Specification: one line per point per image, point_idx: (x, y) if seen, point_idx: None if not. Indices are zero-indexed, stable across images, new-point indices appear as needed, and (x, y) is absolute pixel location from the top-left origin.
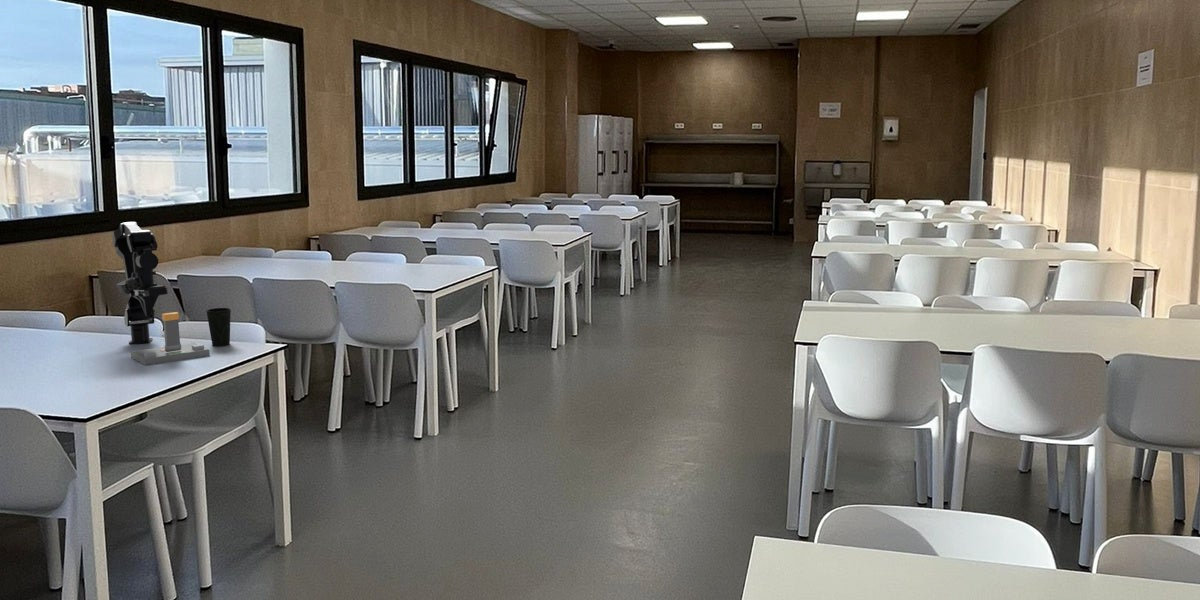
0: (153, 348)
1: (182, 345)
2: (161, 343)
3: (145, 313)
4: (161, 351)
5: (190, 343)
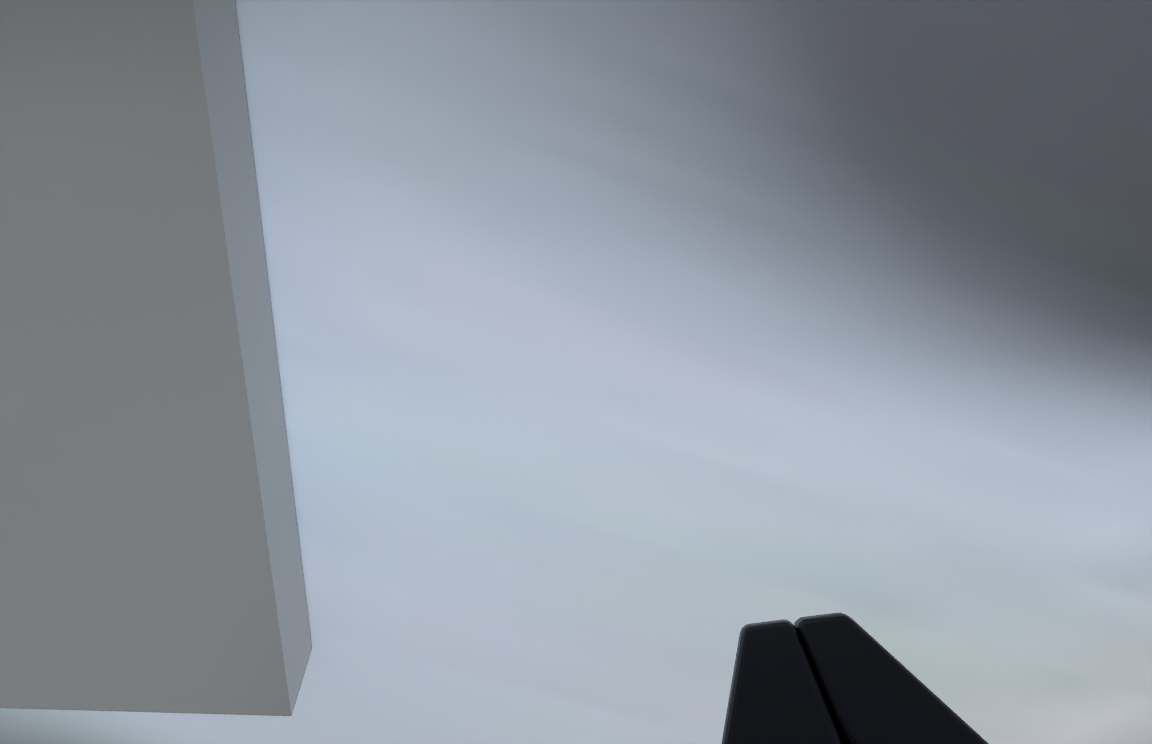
0: (195, 111)
1: (165, 553)
2: (1073, 480)
3: (840, 683)
4: None
5: (255, 671)
